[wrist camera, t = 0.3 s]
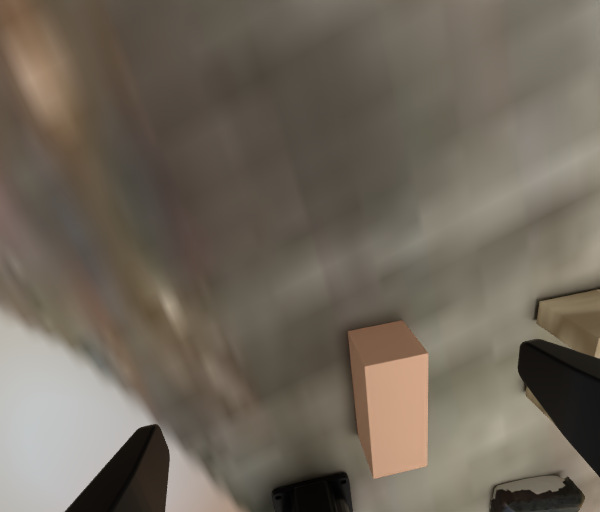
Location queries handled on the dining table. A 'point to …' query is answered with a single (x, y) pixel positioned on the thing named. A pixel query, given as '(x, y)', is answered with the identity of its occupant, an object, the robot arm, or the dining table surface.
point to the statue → (537, 495)
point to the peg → (390, 397)
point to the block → (572, 324)
